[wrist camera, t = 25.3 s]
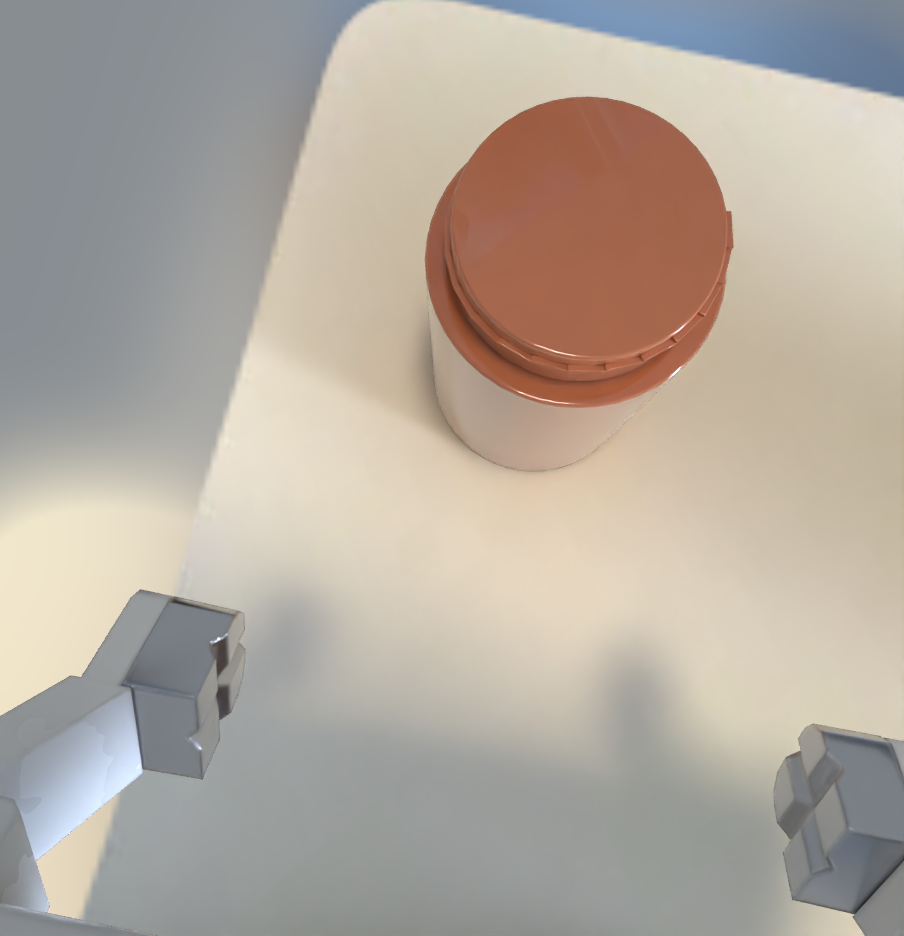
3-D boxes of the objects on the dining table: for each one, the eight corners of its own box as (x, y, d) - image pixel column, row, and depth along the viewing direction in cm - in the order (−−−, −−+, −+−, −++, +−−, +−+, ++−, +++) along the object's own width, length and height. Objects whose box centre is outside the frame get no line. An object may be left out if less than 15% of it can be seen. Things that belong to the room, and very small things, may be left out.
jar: (431, 470, 25) (418, 385, 15) (435, 277, 26) (425, 67, 15) (632, 473, 25) (763, 390, 15) (629, 280, 26) (751, 72, 15)
